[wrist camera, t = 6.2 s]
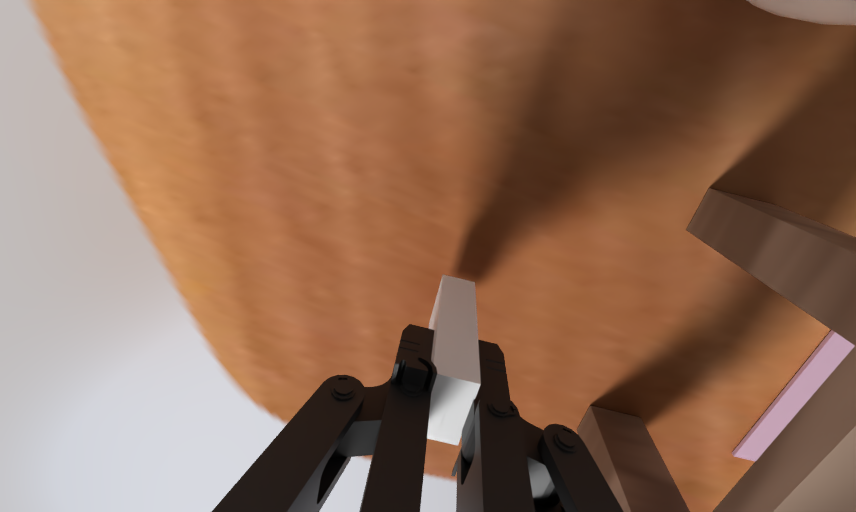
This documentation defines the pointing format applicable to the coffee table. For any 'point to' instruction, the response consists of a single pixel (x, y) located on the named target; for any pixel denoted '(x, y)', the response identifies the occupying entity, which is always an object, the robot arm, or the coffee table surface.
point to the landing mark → (794, 396)
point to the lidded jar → (812, 10)
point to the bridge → (814, 423)
